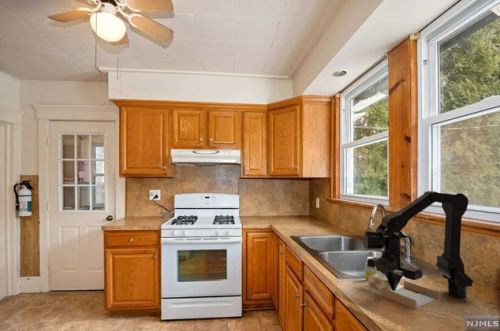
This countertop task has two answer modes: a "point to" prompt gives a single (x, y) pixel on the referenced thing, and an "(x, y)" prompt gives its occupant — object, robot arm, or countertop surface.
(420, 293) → the board
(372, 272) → the supplement bottle
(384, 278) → the block
